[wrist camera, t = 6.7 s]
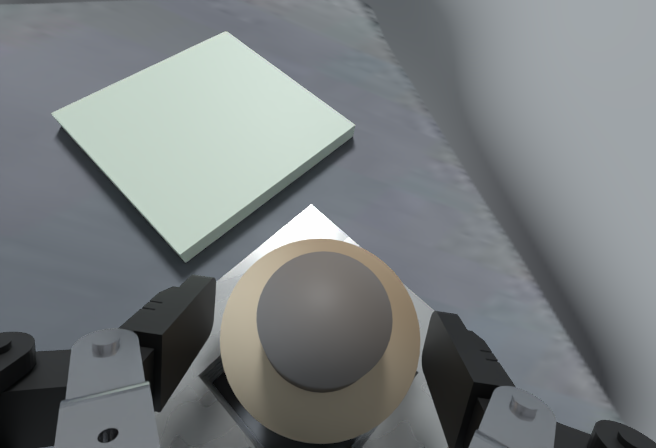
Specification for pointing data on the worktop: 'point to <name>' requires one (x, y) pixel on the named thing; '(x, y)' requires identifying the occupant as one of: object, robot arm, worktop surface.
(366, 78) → the worktop surface
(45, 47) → the worktop surface
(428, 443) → the grey square frame
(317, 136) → the set down board
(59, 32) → the worktop surface
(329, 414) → the key peg
